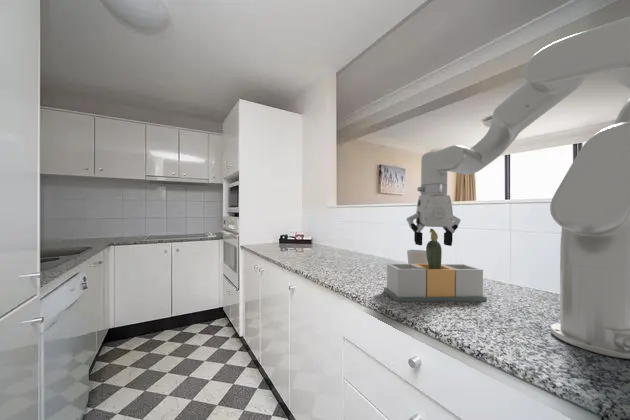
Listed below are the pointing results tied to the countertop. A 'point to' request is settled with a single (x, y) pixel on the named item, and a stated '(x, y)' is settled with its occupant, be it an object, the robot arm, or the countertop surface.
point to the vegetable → (434, 251)
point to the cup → (417, 257)
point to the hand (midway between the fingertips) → (433, 245)
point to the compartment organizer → (434, 283)
